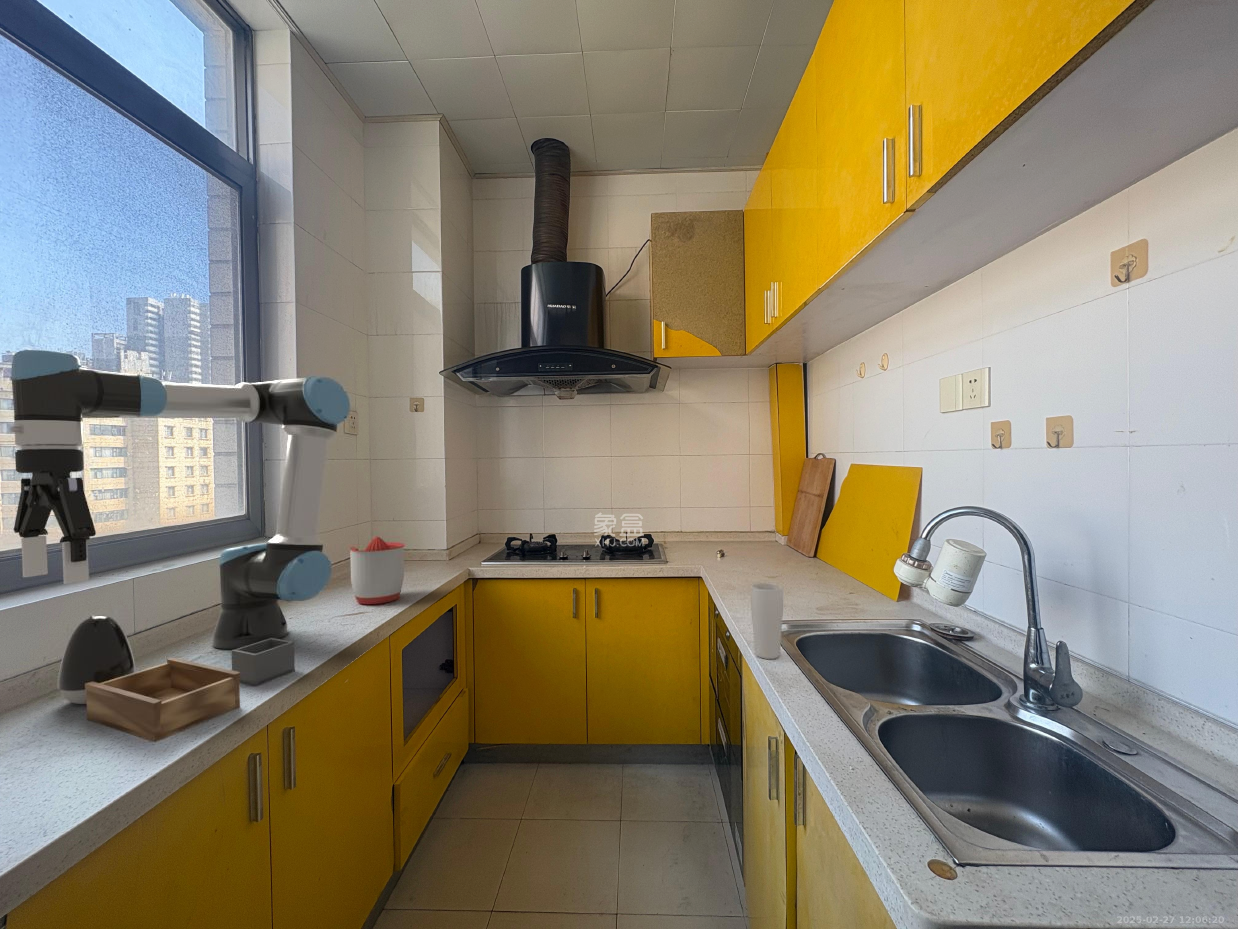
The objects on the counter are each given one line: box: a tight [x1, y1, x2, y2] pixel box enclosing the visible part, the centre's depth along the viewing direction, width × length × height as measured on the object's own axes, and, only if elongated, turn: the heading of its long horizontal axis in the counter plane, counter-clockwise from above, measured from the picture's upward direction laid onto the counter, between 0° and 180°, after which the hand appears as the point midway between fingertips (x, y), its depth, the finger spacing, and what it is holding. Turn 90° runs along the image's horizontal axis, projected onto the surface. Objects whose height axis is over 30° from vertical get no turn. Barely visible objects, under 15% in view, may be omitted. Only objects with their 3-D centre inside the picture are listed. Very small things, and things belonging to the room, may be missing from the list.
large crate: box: [85, 657, 241, 743], centre depth 92 cm, size 13×20×6 cm, turn 67°
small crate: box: [231, 638, 296, 687], centre depth 107 cm, size 8×7×6 cm
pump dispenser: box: [57, 615, 136, 705], centre depth 98 cm, size 10×10×15 cm
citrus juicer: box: [349, 536, 405, 605], centre depth 165 cm, size 16×17×20 cm
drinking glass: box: [750, 582, 784, 660], centre depth 114 cm, size 7×7×15 cm
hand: (55, 579), depth 86 cm, fingers open, 13 cm apart
